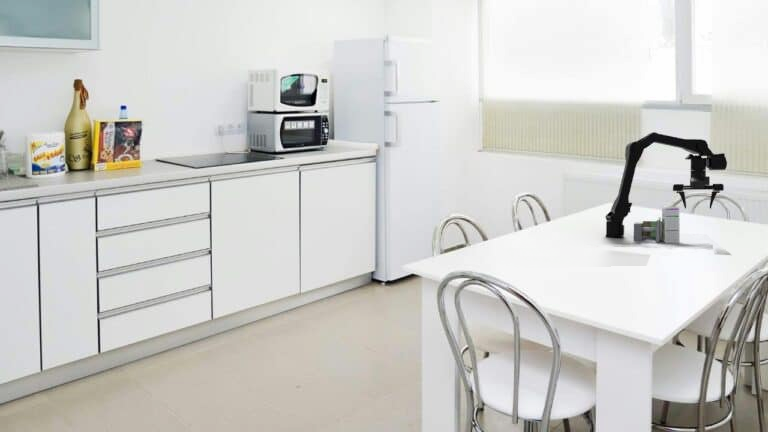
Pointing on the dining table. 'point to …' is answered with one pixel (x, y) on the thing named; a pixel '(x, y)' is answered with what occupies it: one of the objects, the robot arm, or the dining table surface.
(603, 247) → the dining table surface
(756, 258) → the dining table surface
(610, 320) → the dining table surface
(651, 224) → the gauge housing
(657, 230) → the gauge plunger
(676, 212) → the syrup box
